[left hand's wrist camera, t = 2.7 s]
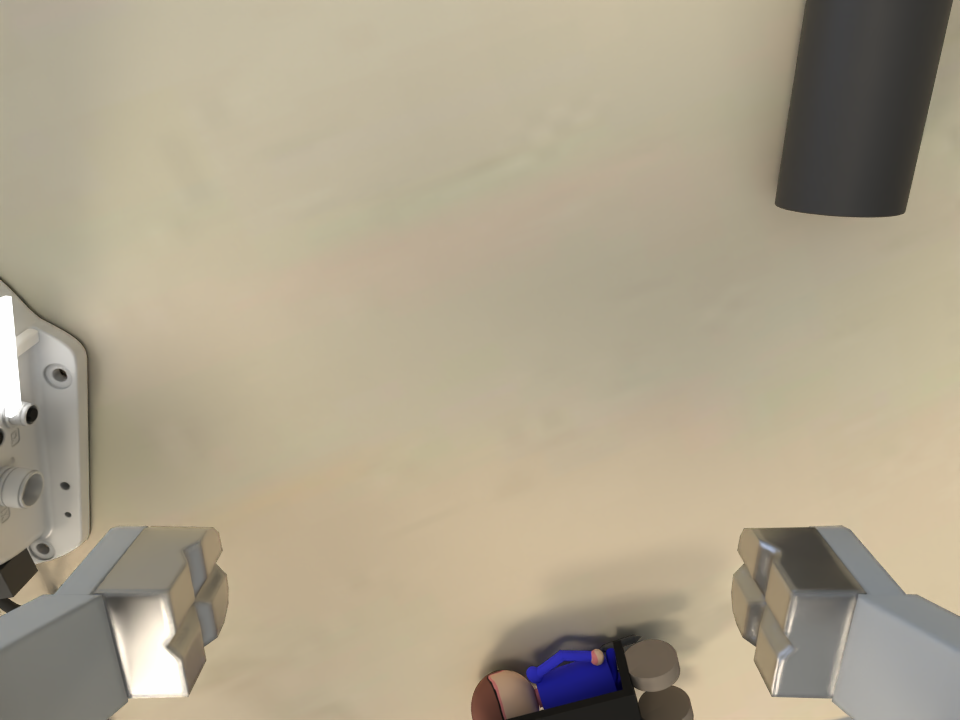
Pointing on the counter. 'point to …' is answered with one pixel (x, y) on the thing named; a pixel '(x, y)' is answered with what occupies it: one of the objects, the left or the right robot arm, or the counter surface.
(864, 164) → the rod
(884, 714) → the left robot arm
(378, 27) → the counter surface
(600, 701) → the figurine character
